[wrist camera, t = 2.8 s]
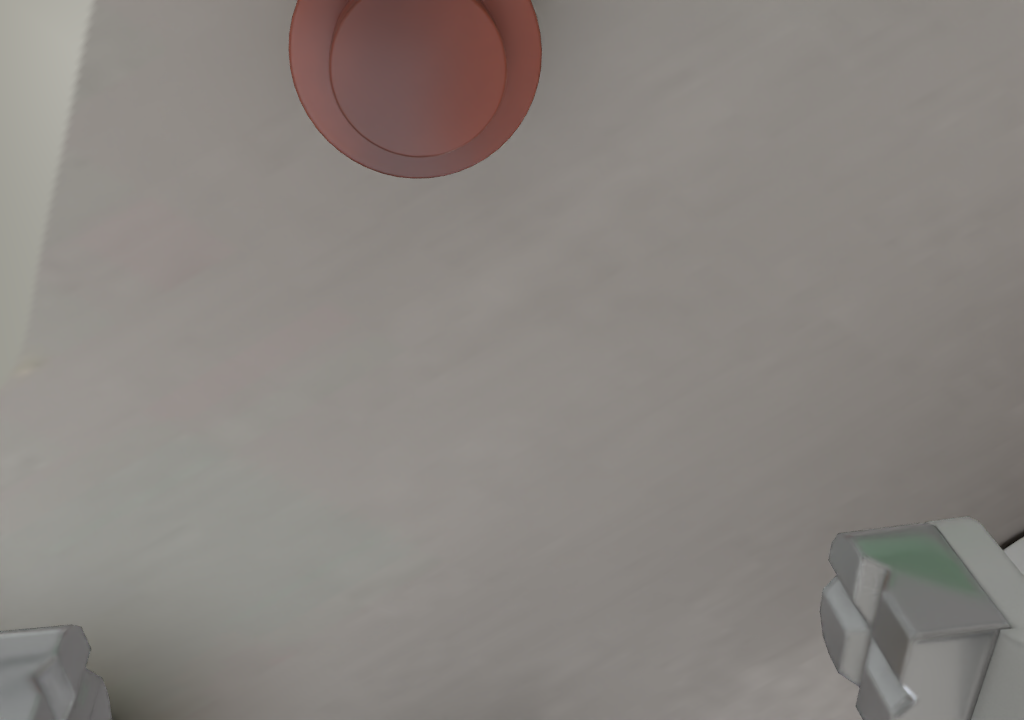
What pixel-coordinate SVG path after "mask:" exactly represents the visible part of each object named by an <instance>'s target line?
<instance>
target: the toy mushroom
mask: <svg viewBox="0 0 1024 720" xmlns="http://www.w3.org/2000/svg"><path fill="white" fill-rule="evenodd" d="M541 59H542V46H541V35H540V29H539V25H538V20H537V16H536V13H535V11H534V8H533V5H532V2H531V0H297V3H296V6H295V10H294V13H293V16H292V21H291V27H290V33H289V60H290V69H291V74H292V78H293V82H294V86H295V89H296V91H297V94H298V97H299V99H300V102H301V104H302V106H303V107H304V109H305V111H306V113H307V115H308V117H309V118H310V120H311V121H312V122H313V124H314V125H315V127H316V128H317V129H318V131H319V132H320V133H321V134H322V135H323V136H324V137H325V138H326V140H327V141H328V142H329V143H331V144H332V145H333V146H334V147H335V148H336V149H337V150H339V151H340V152H341V153H343V154H344V155H346V156H347V157H349V158H350V159H351V160H353V161H355V162H357V163H359V164H361V165H363V166H365V167H367V168H369V169H372V170H374V171H377V172H380V173H383V174H387V175H392V176H396V177H403V178H433V177H440V176H445V175H449V174H453V173H456V172H459V171H462V170H464V169H467V168H469V167H471V166H473V165H475V164H477V163H479V162H480V161H482V160H484V159H486V158H487V157H488V156H490V155H491V154H492V153H494V152H495V151H496V150H498V149H499V148H500V147H501V146H502V145H503V144H504V143H505V142H506V141H507V140H508V139H509V138H510V137H511V136H512V134H513V133H514V132H515V131H516V129H517V128H518V127H519V125H520V124H521V122H522V120H523V119H524V117H525V116H526V114H527V112H528V110H529V108H530V105H531V103H532V101H533V99H534V96H535V93H536V89H537V86H538V83H539V77H540V71H541Z"/></svg>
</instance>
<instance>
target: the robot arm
mask: <svg viewBox="0 0 1024 720" xmlns="http://www.w3.org/2000/svg"><path fill="white" fill-rule="evenodd" d="M828 560H829V562H830V564H831V566H832V567H833V569H834V571H835V573H836V574H837V575H836V576H835V577H834V578H833V579H832V580H831V581H830V583H829V584H828V585H827V586H826V587H825V588H824V589H823V592H822V600H821V607H820V617H821V625H822V633H823V638H824V641H825V644H826V647H827V650H828V653H829V655H830V657H831V659H832V661H833V663H834V665H835V667H836V669H837V671H838V673H839V674H841V675H842V676H844V677H845V678H847V679H848V680H850V681H851V682H853V683H854V684H856V685H857V686H859V687H860V689H859V693H858V698H857V703H856V708H857V710H858V712H859V713H860V715H861V717H862V719H863V720H1024V537H1023V538H1021V539H1019V540H1018V541H1016V542H1014V543H1013V544H1011V545H1010V546H1008V547H1007V548H1006V549H1004V550H1002V549H1001V547H1000V546H999V545H998V544H997V543H996V541H995V540H994V539H993V538H992V537H991V535H990V534H989V533H988V532H987V530H986V529H985V528H984V527H983V526H982V524H981V523H980V522H979V521H977V520H975V519H973V518H971V517H969V516H967V517H959V518H952V519H944V520H936V521H929V522H925V523H914V524H907V525H899V526H891V527H883V528H875V529H868V530H860V531H852V532H844V533H838V534H837V536H836V537H835V539H834V540H833V542H832V544H831V549H830V554H829V559H828ZM90 651H91V647H90V645H89V643H88V641H87V638H86V636H85V634H84V631H83V629H82V627H80V626H76V625H62V626H51V627H40V628H30V629H19V630H9V631H0V720H112V713H111V707H110V701H109V694H108V692H107V689H106V686H105V684H104V681H103V678H101V677H100V676H98V675H97V674H95V673H93V672H92V671H90V670H88V669H87V668H86V664H87V661H88V658H89V654H90Z"/></svg>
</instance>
